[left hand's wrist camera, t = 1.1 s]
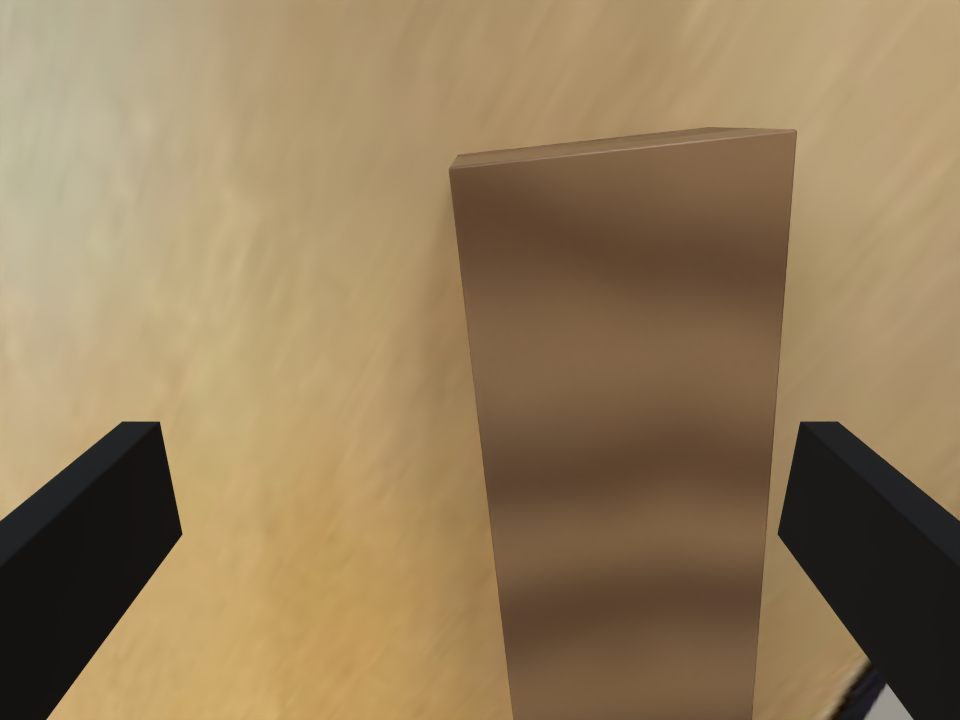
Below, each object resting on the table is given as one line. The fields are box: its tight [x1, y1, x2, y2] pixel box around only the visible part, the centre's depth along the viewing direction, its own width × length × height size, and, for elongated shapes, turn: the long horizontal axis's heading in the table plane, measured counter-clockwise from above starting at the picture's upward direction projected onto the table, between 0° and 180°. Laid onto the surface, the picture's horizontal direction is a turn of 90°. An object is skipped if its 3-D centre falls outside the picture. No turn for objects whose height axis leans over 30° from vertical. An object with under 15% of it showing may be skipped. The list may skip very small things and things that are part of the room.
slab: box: [449, 127, 797, 720], centre depth 31 cm, size 52×10×7 cm, turn 6°
